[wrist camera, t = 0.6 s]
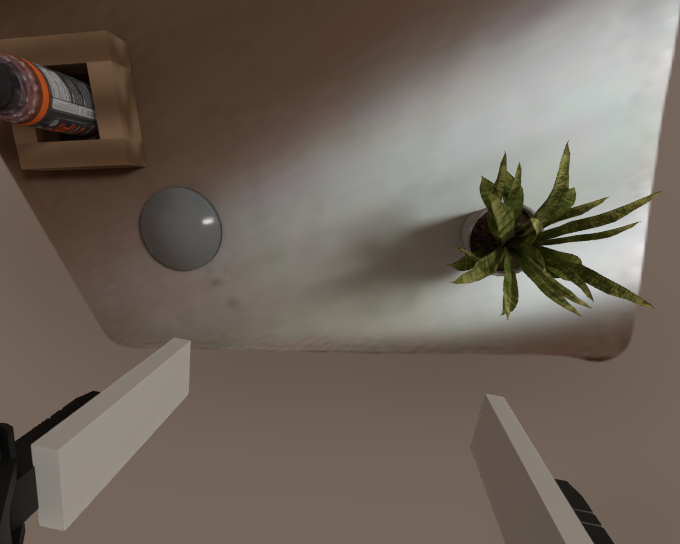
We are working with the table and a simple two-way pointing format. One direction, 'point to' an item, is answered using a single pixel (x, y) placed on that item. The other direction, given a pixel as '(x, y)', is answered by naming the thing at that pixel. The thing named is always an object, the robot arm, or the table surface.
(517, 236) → the house plant
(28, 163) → the pocket holder
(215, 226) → the grey domed disc
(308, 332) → the table surface
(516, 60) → the table surface
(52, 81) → the supplement bottle
